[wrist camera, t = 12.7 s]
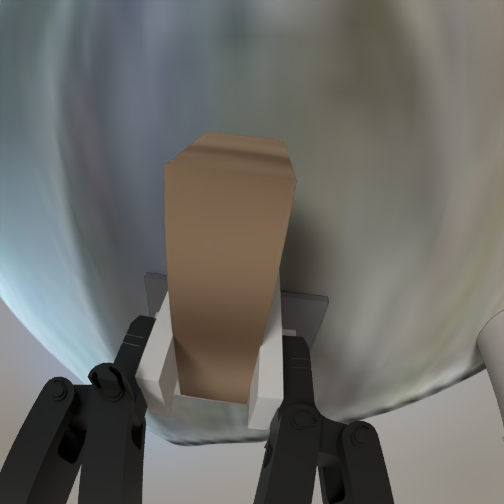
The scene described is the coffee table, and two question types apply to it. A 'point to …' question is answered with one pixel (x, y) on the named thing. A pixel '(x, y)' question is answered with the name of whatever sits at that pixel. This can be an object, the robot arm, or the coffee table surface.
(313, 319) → the mat
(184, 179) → the tapered wooden block
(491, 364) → the coffee cup
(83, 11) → the coffee table surface
